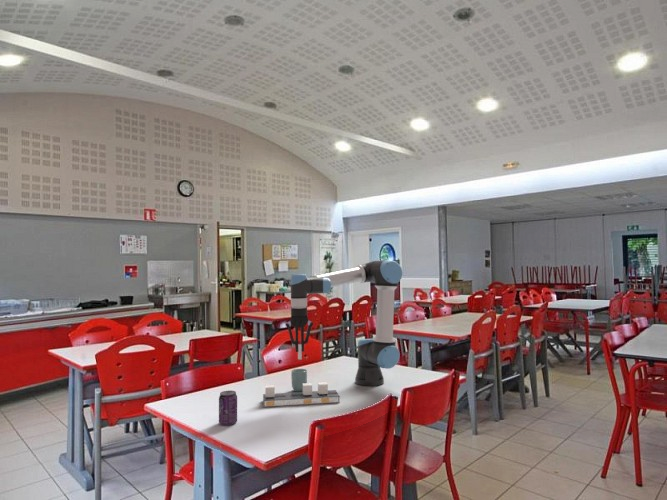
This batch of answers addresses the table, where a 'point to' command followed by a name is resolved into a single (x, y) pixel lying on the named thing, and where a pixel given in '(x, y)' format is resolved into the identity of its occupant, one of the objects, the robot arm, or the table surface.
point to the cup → (298, 379)
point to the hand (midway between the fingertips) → (299, 358)
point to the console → (300, 399)
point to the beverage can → (228, 407)
